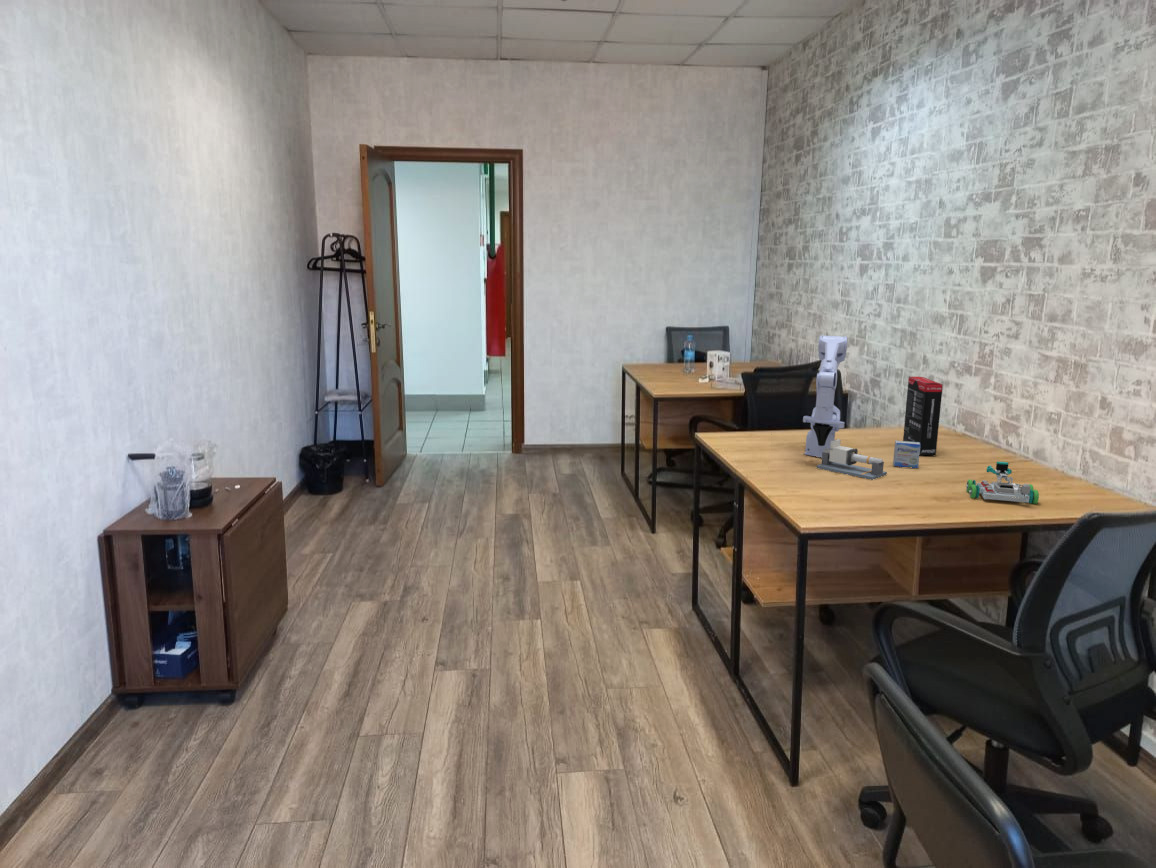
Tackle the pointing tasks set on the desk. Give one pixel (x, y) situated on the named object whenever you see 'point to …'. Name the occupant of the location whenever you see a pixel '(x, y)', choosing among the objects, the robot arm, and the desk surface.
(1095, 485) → the desk surface
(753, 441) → the desk surface
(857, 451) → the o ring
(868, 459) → the pipe stand
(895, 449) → the medicine box
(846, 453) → the sleeve
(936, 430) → the graphics card box
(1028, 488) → the robot kit
